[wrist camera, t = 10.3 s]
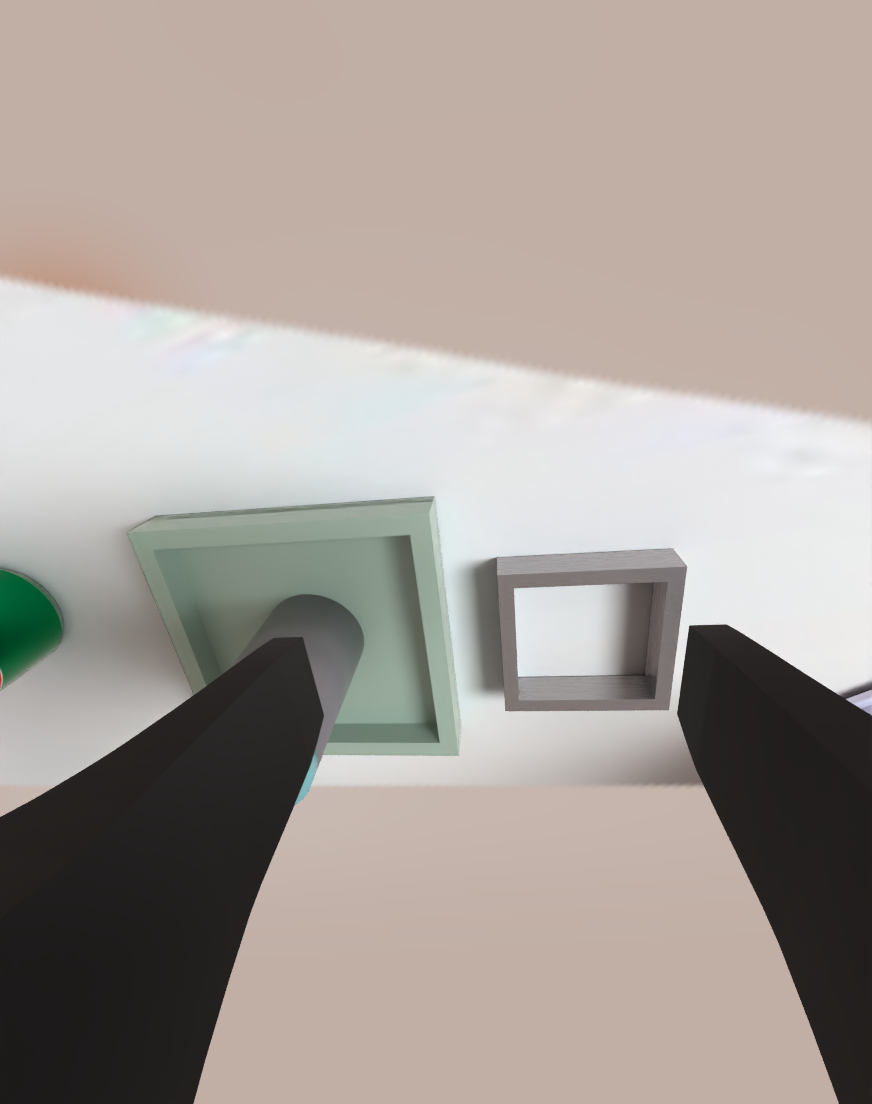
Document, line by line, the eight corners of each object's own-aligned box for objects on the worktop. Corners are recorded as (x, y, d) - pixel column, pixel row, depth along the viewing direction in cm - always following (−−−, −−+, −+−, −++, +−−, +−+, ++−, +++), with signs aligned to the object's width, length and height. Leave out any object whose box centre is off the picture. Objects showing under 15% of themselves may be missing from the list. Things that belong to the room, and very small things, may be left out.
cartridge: (384, 649, 21) (339, 784, 15) (314, 688, 23) (246, 827, 17) (318, 576, 20) (240, 692, 14) (248, 623, 22) (149, 747, 15)
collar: (672, 548, 19) (686, 566, 17) (657, 685, 22) (668, 710, 20) (496, 557, 20) (497, 575, 18) (504, 687, 22) (505, 711, 21)
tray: (434, 496, 19) (428, 513, 17) (461, 726, 24) (458, 755, 22) (155, 515, 20) (126, 532, 19) (235, 726, 26) (218, 753, 24)
